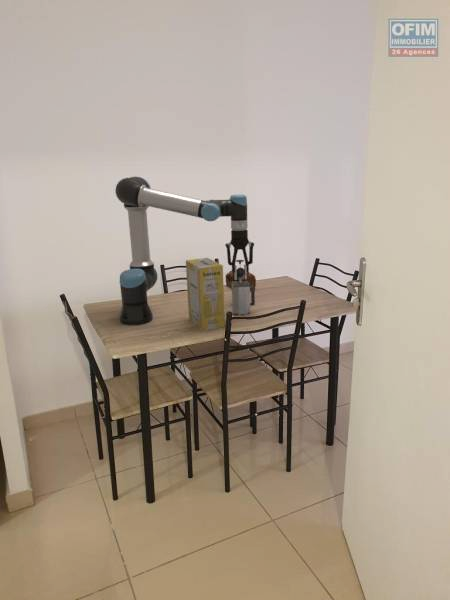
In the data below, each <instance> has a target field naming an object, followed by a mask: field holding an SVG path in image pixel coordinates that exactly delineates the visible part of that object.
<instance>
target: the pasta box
mask: <svg viewBox="0 0 450 600" xmlns="http://www.w3.org/2000/svg"><path fill="white" fill-rule="evenodd" d="M185 271H186V287H187V290H186V291H187V304H188V305H187V307H188V320H190V321H191V322H192V323H193V324H195V325H196V326H197V327H198V328H199V329H200V330H201V331H203V332H204V331H209V330H214V329H219V328H225V327H226V322H225V319H226V317H225V292H224V291H225V290H224V289H225V288H224V265H223V264H221V263H219V262H217V261H215V260H213V259H212V258H211V259H210V258H208V257H203V258H201V257H200V258H194V259H186V260H185Z"/></svg>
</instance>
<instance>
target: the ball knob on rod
mask: <svg viewBox="0 0 450 600" xmlns="http://www.w3.org/2000/svg"><path fill="white" fill-rule="evenodd" d="M244 273H245V271H244V267H241V268H240V267H238V268H237V275H238V277H239V284H241V283H242V277H243V275H244Z"/></svg>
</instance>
